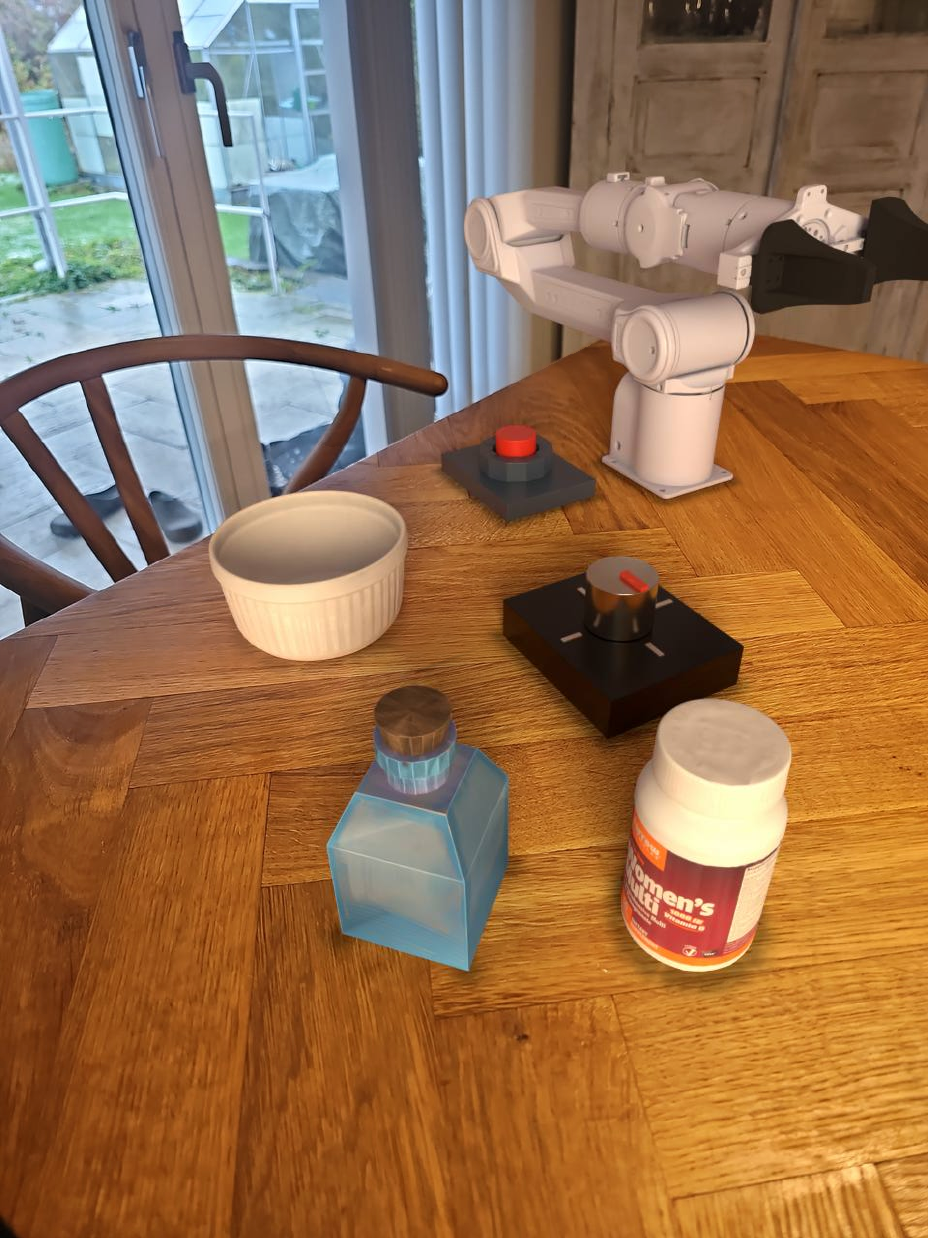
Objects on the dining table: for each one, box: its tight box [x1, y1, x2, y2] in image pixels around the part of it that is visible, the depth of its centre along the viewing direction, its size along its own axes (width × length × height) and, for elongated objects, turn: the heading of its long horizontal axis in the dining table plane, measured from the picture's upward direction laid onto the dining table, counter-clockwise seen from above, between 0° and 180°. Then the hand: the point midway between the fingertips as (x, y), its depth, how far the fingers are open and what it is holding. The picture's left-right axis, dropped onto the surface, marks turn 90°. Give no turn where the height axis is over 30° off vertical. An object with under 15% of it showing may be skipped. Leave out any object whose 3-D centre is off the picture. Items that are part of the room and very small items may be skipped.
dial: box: [584, 555, 660, 641], centre depth 53 cm, size 4×4×4 cm
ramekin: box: [208, 489, 409, 662], centre depth 59 cm, size 13×13×7 cm
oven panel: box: [502, 571, 745, 740], centre depth 55 cm, size 12×10×3 cm
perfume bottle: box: [326, 684, 510, 972], centre depth 37 cm, size 6×6×12 cm
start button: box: [494, 424, 537, 457], centre depth 75 cm, size 4×4×2 cm
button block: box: [440, 434, 597, 523], centre depth 76 cm, size 12×9×4 cm
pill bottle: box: [620, 698, 793, 973], centre depth 36 cm, size 6×6×11 cm
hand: (915, 273), depth 51 cm, fingers open, 7 cm apart
